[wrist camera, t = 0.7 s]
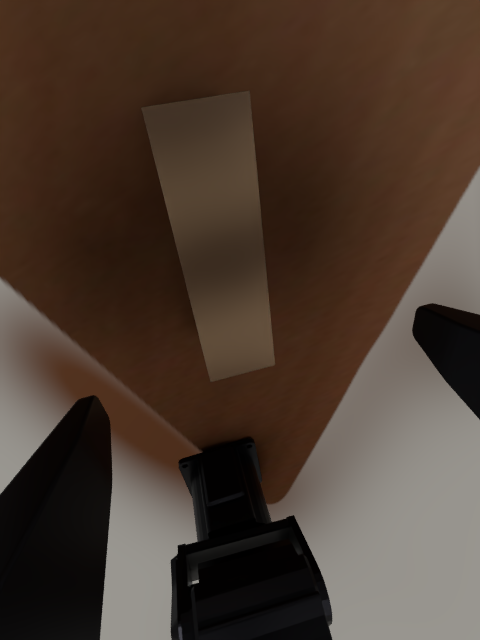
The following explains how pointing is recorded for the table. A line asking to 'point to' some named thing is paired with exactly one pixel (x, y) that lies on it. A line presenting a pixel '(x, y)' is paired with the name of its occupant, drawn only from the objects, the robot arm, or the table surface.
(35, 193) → the table surface
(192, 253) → the brown wooden block
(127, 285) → the table surface
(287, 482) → the table surface
